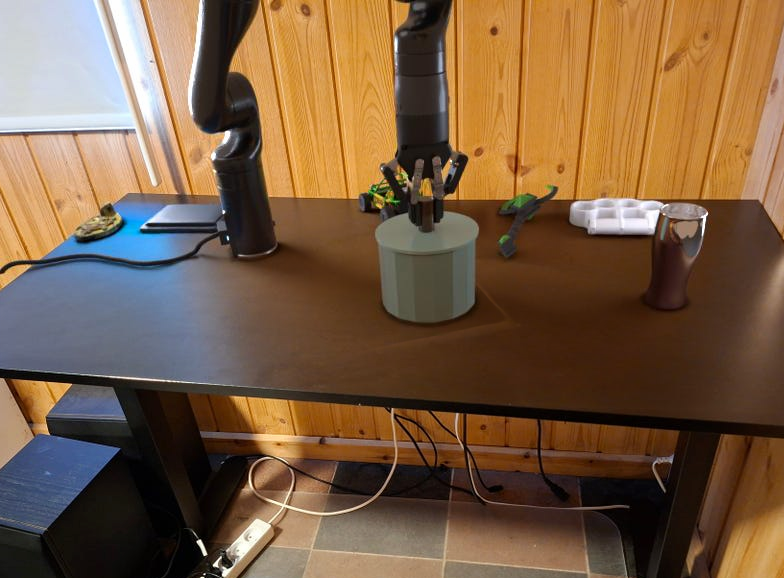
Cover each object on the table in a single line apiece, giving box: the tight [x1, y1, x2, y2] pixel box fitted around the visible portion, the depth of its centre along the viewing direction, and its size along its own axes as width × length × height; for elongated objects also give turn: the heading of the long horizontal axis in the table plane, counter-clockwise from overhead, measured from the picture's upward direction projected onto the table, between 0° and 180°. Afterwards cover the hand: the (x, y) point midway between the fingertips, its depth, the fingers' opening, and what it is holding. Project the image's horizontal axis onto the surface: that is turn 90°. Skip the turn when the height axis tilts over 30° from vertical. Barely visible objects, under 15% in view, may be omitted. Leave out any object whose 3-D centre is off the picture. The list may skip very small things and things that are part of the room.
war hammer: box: [496, 184, 559, 259], centre depth 127 cm, size 6×13×30 cm
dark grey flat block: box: [139, 203, 224, 233], centre depth 146 cm, size 20×2×15 cm
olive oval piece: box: [74, 201, 124, 241], centre depth 144 cm, size 9×5×15 cm
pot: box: [377, 239, 476, 323], centre depth 103 cm, size 15×15×12 cm
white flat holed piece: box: [568, 197, 665, 236], centre depth 126 cm, size 3×18×15 cm
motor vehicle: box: [358, 172, 430, 223], centre depth 136 cm, size 12×19×11 cm, turn 23°
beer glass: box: [644, 202, 709, 311], centre depth 97 cm, size 7×7×15 cm
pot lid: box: [374, 195, 480, 255], centre depth 98 cm, size 16×16×6 cm
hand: (426, 222), depth 98 cm, fingers closed on pot lid, 2 cm apart
